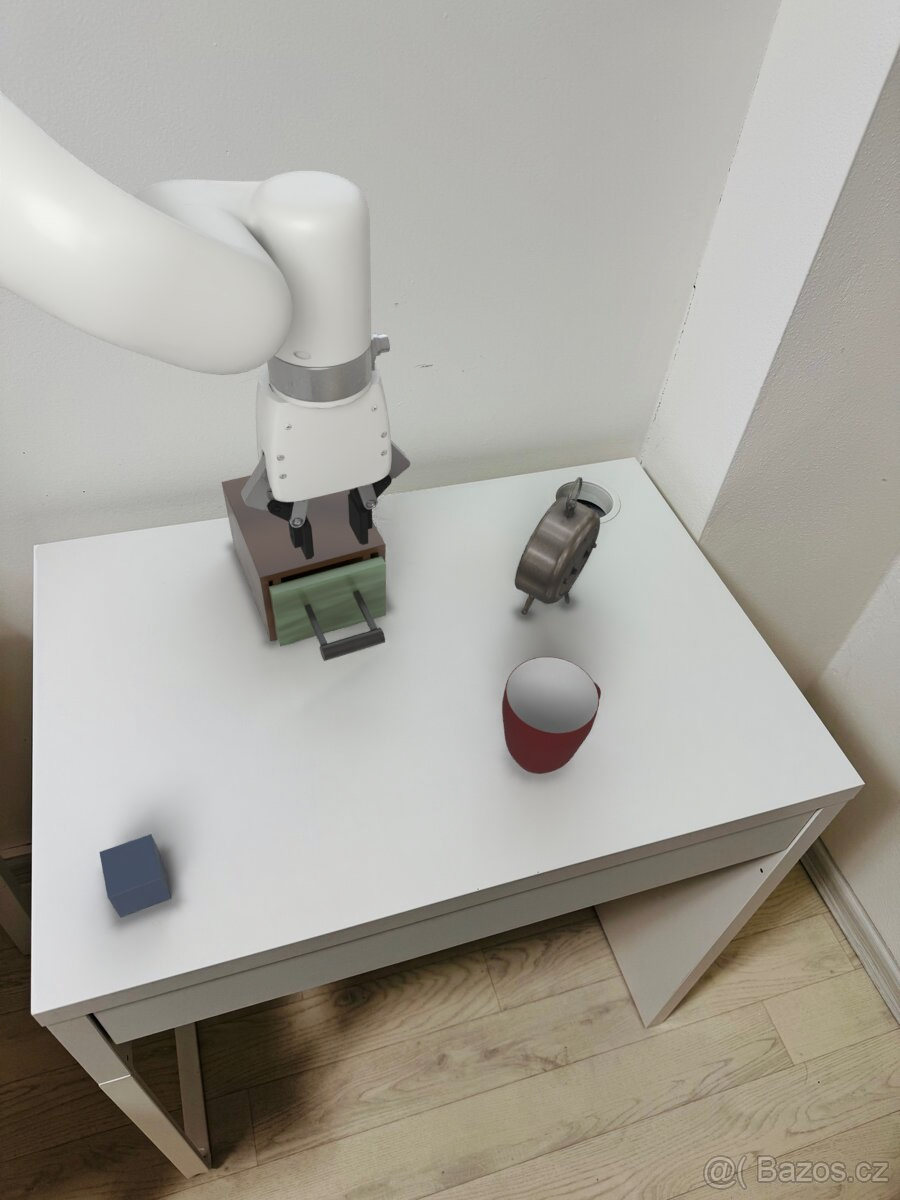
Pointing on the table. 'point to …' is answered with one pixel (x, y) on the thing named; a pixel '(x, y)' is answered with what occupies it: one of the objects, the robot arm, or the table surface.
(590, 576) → the table surface
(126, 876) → the block
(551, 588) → the alarm clock
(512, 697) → the mug
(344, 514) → the cabinet
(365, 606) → the drawer
